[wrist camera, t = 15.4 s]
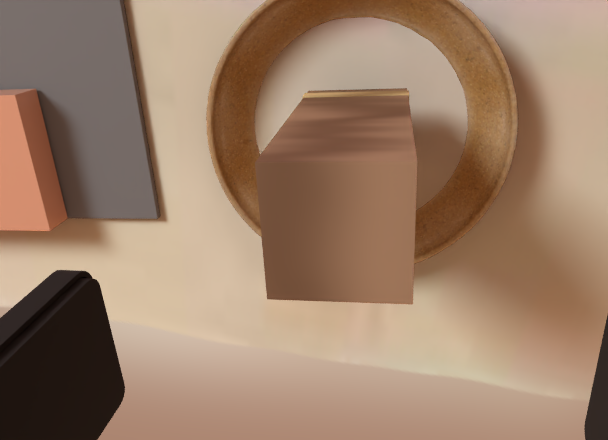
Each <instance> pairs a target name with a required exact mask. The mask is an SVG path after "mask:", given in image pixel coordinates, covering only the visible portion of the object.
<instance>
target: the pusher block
mask: <svg viewBox="0 0 608 440" xmlns="http://www.w3.org/2000/svg"><path fill="white" fill-rule="evenodd" d="M255 169H256V180H257V191H258V202H259V213H260V224H261V235H262V246H263V257H264V268H265V279H266V290H267V299H276V300H304V301H333V302H361V303H390V304H413V280H414V250H415V219H416V189H417V155H416V148H415V141H414V134H413V127H412V120H411V113H410V107H409V91H407V88H405V89H366V90H327V91H308V93H305V94H304V95H303V99H302V101H301V102H300V103H299V105H298V106H297V107H296V108H295V110H294V111H293V112H292V114H291V115H290V116H289V118H288V119H287V120H286V122H285V123H284V124H283V126H282V127H281V128H280V130H279V131H278V132H277V134H276V135H275V136H274V138H273V139H272V140H271V142H270V143H269V144H268V146H267V147H266V148H265V150H264V151H263V152H262V154H261V155H260V156H259V158H258V159H257V160H256V162H255Z"/></svg>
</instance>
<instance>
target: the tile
mask: <svg viewBox="0 0 608 440" xmlns="http://www.w3.org/2000/svg"><path fill="white" fill-rule="evenodd" d="M67 218H68V217H67V213H66V209H65V205H64V201H63V197H62V193H61V189H60V185H59V181H58V176H57V172H56V168H55V164H54V160H53V156H52V152H51V148H50V144H49V140H48V135H47V131H46V127H45V123H44V119H43V115H42V111H41V107H40V103H39V99H38V94H37V90H36V89H9V90H0V230H20V231H51V230H52V229H53V228H55V227H56V226H58V225H59V224H60V223H62V222H63V221H65V220H66V219H67Z"/></svg>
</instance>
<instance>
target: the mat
mask: <svg viewBox="0 0 608 440" xmlns="http://www.w3.org/2000/svg"><path fill="white" fill-rule="evenodd" d="M9 89H36V90H37V94H38V99H39V103H40V107H41V111H42V115H43V119H44V123H45V127H46V131H47V135H48V140H49V144H50V148H51V152H52V156H53V160H54V164H55V168H56V172H57V176H58V181H59V185H60V189H61V193H62V197H63V201H64V205H65V209H66V213H67V217H68V218H122V219H158V218H159V217H160V212H159V206H158V200H157V194H156V188H155V183H154V177H153V171H152V165H151V159H150V153H149V147H148V142H147V136H146V130H145V124H144V118H143V112H142V107H141V101H140V95H139V89H138V83H137V77H136V71H135V66H134V60H133V54H132V48H131V42H130V36H129V30H128V25H127V19H126V13H125V7H124V1H123V0H0V90H9Z"/></svg>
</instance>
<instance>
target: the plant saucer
mask: <svg viewBox="0 0 608 440" xmlns="http://www.w3.org/2000/svg"><path fill="white" fill-rule="evenodd" d="M357 17H374V18H379V19H384V20H388V21H392V22H396V23H399V24H401V25H403V26H405V27H407V28H410V29H412V30H413V31H415V32H416V33H418V34H419V35H421V36H423V37H424V38H426V39H428V40H430V41H431V42H432V43H433V44H434V45H435V46H436V47H437V48H438V49H439V50H440V51H441V52H442V53H443V54H444V55H445V56H446V58H447V59H448V61H449V62H450V64H451V65H452V67H453V69H454V70H455V72H456V74H457V76H458V78H459V80H460V82H461V85H462V87H463V89H464V94H465V98H466V104H467V113H468V131H467V136H466V142H465V148H464V151H463V154H462V156H461V160H460V162H459V164H458V166H457V168H456V170H455V172H454V173H453V175H452V177H451V178H450V180H449V181H448V182H447V184H446V185H445V186H444V188H443V189H442V190H441V191H440V192H439V193H438V194H437V195H436V196H435V197H434V198H433V199H432V200H431V201H429V202H428V203H427V204H425V205H424V206H423V207H421V208H420V209H418V210H416V219H415V250H414V263H418V262H421V261H423V260H425V259H427V258H429V257H432V256H433V255H435V254H437V253H439V252H441V251H442V250H444V249H445V248H447V247H448V246H450V245H452V244H453V243H454V242H456V241H457V240H458V239H460V238H461V237H463V236H464V235H465V234H466V233H467V232H468V231H469V230H471V229H472V228H473V227H474V225H475V224H476V223H477V222H478V221H479V220H480V219H481V218H482V216H483V215H484V214H485V213H486V212H487V210H488V209H489V207H490V205H491V204H492V203H493V201H494V200H495V198H496V197H497V195H498V193H499V191H500V189H501V187H502V186H503V184H504V182H505V180H506V177H507V174H508V172H509V169H510V166H511V162H512V159H513V154H514V152H515V147H516V141H517V132H518V110H517V100H516V93H515V89H514V84H513V80H512V77H511V74H510V70H509V67H508V65H507V62H506V60H505V57H504V55H503V53H502V52H501V49H500V48H499V46H498V44H497V42H496V41H495V39H494V38H493V36H492V35H491V33H490V32H489V31H488V29H487V28H486V26H485V25H484V24H483V23H482V22H481V21H480V20H479V19H478V18H477V17H476V15H475V14H474V13H473V12H472V11H471V10H470V9H469V8H467V7H466V6H465V5H464V4H463V3H461V2H460V1H459V0H266V1H265V2H264V3H263V4H261V5H260V6H259V7H258V8H257V9H256V10H255V11H253V12H252V13H251V14H250V16H249V17H248V18H247V19H246V20H245V21H244V22H243V23H242V24H241V26H240V27H239V28H238V30H237V31H236V32H235V34H234V35H233V36H232V38H231V39H230V41H229V42H228V44H227V46H226V48H225V50H224V52H223V54H222V56H221V58H220V60H219V62H218V65H217V67H216V70H215V73H214V76H213V78H212V82H211V86H210V91H209V96H208V105H207V117H206V120H207V136H208V144H209V150H210V154H211V158H212V162H213V165H214V168H215V172H216V174H217V177H218V179H219V181H220V184H221V186H222V188H223V190H224V192H225V194H226V196H227V198H228V200H229V201H230V202H231V204H232V205H233V207H234V208H235V210H236V211H237V212H238V214H239V215H240V216H241V217H242V219H243V220H244V221H245V222H246V223H247V224H248V225H249V226H250V227H251V228H252V229H253V230H254V231H255V232H256V233H257V234H258V235H259V236H261V237H262V235H261V224H260V213H259V202H258V191H257V180H256V169H255V162H256V160H257V159H258V158H259V156H260V153H259V150H258V146H257V142H256V136H255V129H254V117H255V109H256V103H257V97H258V94H259V91H260V88H261V84H262V82H263V80H264V77H265V75H266V73H267V71H268V69H269V67H270V66H271V64H272V63H273V61H274V60H275V58H276V57H277V56H278V55H279V53H280V52H281V51H282V50H283V49H284V48H285V47H286V46H287V45H288V44H290V43H291V42H292V41H293V40H294V39H295V38H296V37H298V36H299V35H301V34H303V33H304V32H306V31H307V30H309V29H311V28H312V27H314V26H317V25H319V24H322V23H325V22H327V21H330V20H333V19H341V18H357Z"/></svg>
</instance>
